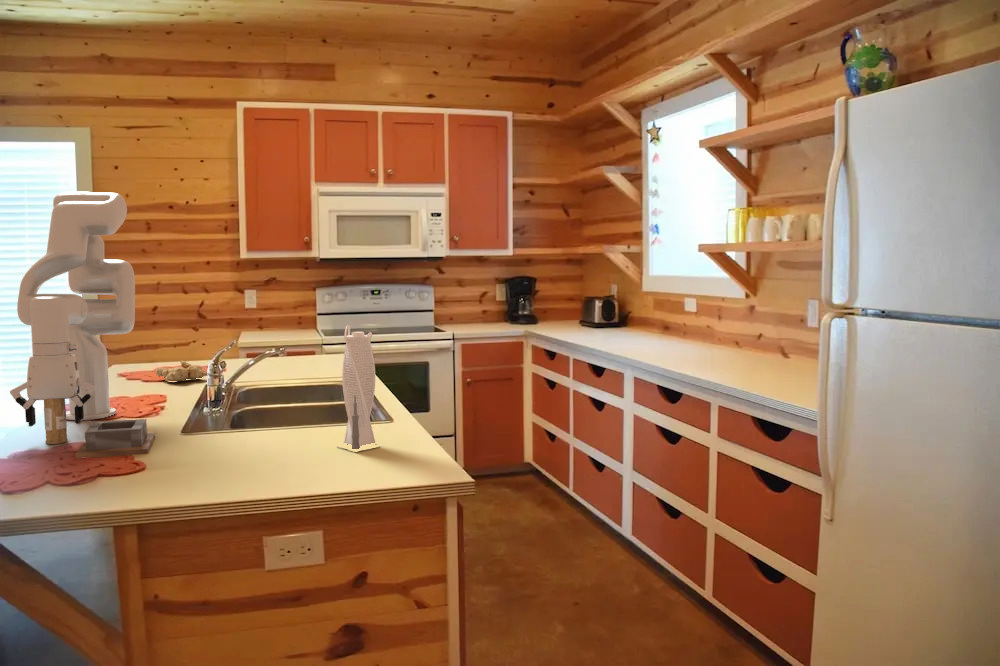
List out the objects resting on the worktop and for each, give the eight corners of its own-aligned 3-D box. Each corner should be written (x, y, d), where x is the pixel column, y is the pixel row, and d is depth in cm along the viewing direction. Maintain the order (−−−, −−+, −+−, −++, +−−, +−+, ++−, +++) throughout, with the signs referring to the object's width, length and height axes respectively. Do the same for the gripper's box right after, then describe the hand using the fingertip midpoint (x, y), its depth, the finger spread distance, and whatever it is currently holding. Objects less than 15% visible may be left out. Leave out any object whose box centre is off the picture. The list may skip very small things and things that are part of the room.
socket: (89, 443, 175) (88, 420, 174) (155, 438, 180) (154, 416, 179) (75, 460, 160) (74, 435, 159) (147, 455, 165) (146, 431, 164)
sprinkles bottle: (68, 443, 173) (65, 385, 172) (45, 445, 170) (42, 387, 169) (67, 439, 177) (64, 383, 175) (44, 441, 174) (41, 384, 173)
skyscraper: (333, 446, 172) (331, 325, 169) (361, 440, 178) (360, 323, 175) (355, 453, 166) (353, 327, 163) (384, 446, 172) (383, 325, 169)
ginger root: (213, 379, 257) (206, 356, 256) (164, 393, 250) (157, 371, 248) (206, 374, 271) (199, 353, 269) (160, 388, 263) (153, 366, 262)
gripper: (96, 347, 178) (100, 418, 179) (12, 349, 172) (16, 423, 174) (91, 350, 171) (94, 424, 172) (3, 353, 165) (7, 429, 167)
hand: (55, 423), depth 173 cm, fingers open, 9 cm apart
